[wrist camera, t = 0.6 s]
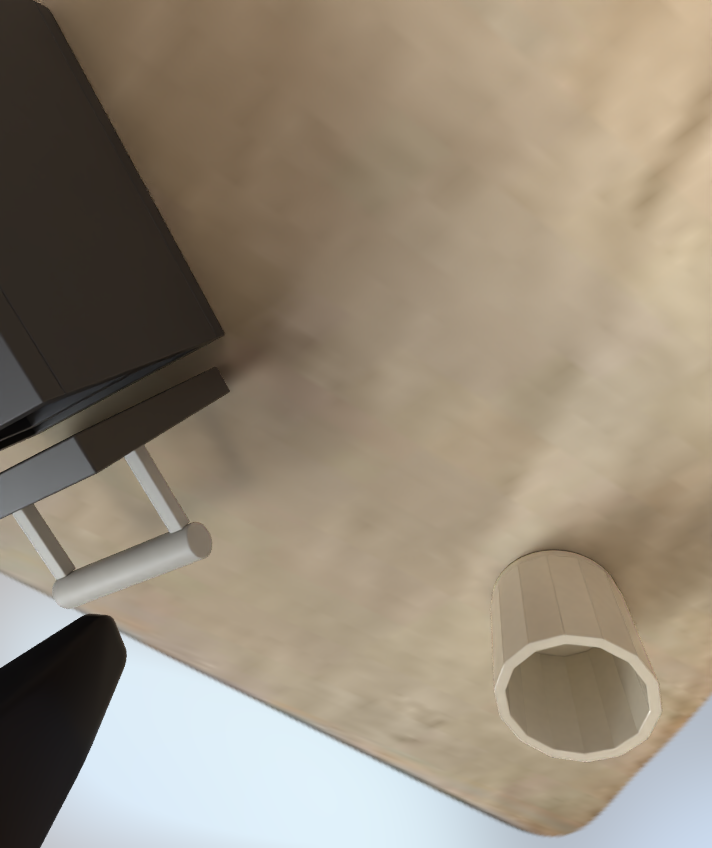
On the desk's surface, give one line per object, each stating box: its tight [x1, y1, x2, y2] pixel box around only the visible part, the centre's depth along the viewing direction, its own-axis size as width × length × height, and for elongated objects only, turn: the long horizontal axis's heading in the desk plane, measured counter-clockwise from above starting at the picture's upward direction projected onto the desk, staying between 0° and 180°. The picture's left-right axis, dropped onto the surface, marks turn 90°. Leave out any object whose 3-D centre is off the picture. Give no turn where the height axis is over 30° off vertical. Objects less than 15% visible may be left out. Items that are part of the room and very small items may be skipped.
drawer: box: [0, 367, 230, 609], centre depth 20 cm, size 17×10×9 cm, turn 27°
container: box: [490, 550, 662, 762], centre depth 22 cm, size 5×6×6 cm
